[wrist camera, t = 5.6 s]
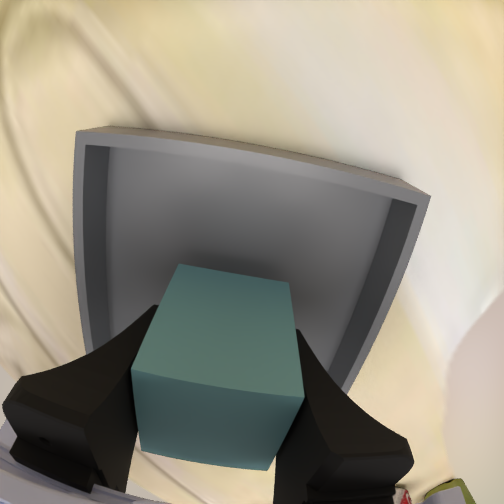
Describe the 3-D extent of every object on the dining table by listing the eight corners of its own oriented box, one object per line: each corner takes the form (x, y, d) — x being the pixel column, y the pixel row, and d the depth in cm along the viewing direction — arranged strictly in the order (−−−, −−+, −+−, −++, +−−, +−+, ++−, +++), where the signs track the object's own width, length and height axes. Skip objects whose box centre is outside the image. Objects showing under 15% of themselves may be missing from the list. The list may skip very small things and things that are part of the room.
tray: (109, 355, 19) (93, 387, 16) (107, 126, 13) (76, 131, 10) (321, 391, 20) (327, 426, 17) (401, 179, 14) (430, 196, 11)
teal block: (173, 346, 15) (141, 450, 9) (178, 263, 13) (131, 368, 8) (265, 361, 15) (267, 470, 10) (288, 282, 13) (304, 397, 8)
